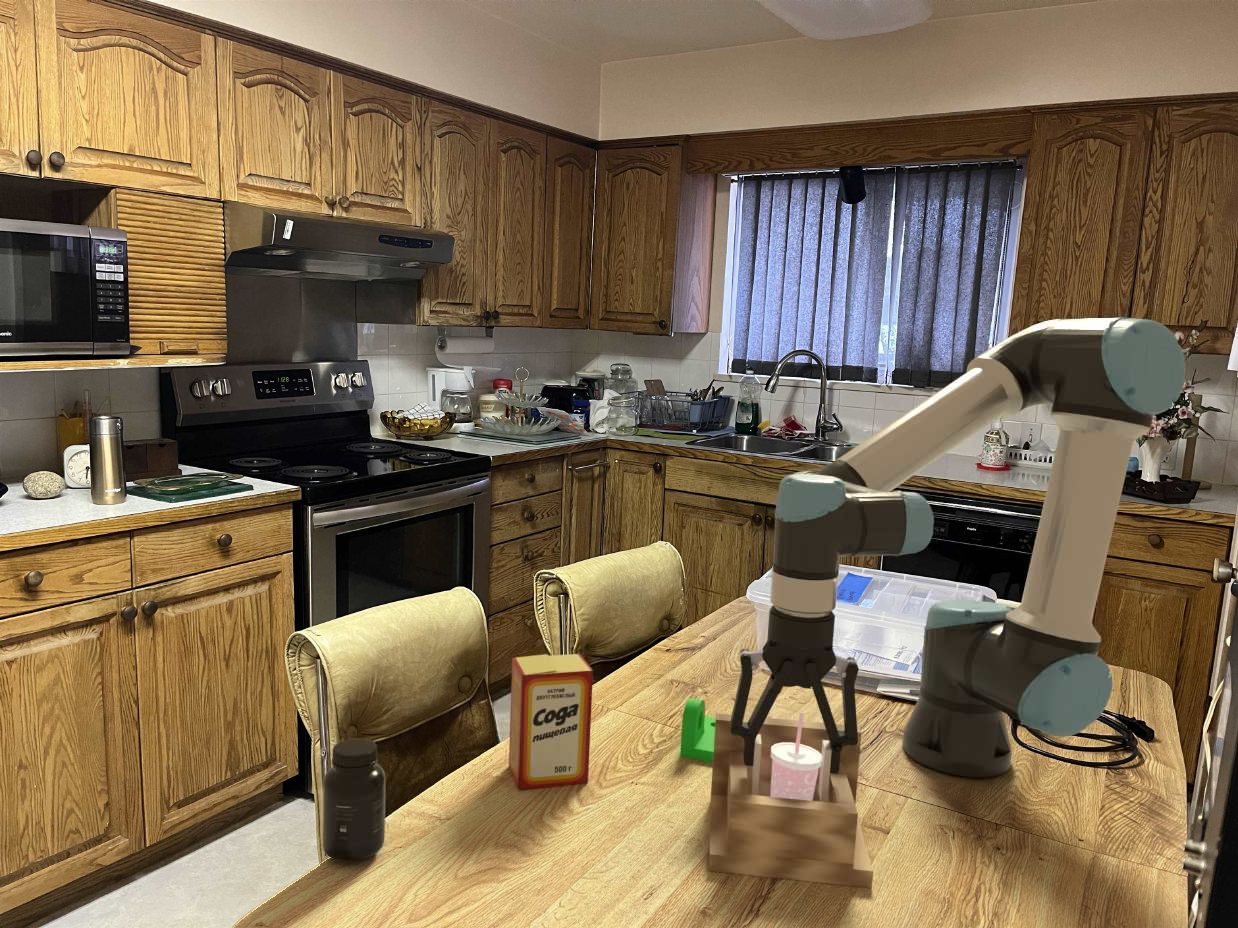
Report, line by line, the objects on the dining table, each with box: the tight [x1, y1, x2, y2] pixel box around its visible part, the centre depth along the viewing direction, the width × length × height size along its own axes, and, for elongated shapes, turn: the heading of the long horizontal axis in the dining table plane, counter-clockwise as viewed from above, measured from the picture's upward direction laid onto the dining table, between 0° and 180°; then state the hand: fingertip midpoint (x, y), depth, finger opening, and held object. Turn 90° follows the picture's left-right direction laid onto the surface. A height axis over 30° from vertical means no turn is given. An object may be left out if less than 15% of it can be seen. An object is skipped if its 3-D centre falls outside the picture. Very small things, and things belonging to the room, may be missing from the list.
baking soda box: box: [508, 653, 594, 791], centre depth 124 cm, size 10×6×16 cm
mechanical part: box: [679, 697, 716, 764], centre depth 136 cm, size 12×6×8 cm, turn 161°
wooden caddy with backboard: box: [708, 712, 874, 889], centre depth 110 cm, size 18×16×12 cm
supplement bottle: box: [321, 737, 386, 863], centre depth 104 cm, size 7×7×12 cm
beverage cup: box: [770, 711, 822, 801], centre depth 110 cm, size 6×6×14 cm
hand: (788, 793), depth 110 cm, fingers open, 7 cm apart
